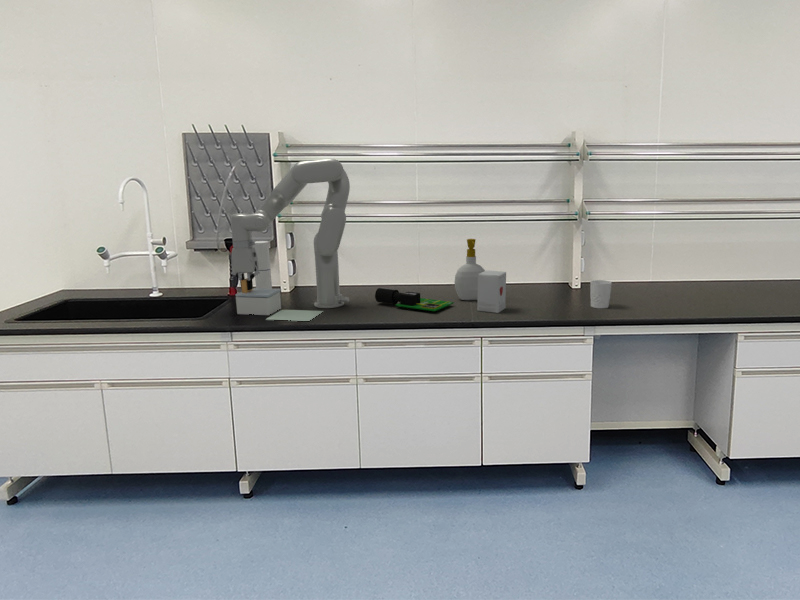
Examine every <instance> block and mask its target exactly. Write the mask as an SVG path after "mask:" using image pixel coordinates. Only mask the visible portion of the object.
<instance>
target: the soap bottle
mask: <svg viewBox="0 0 800 600" xmlns="http://www.w3.org/2000/svg"><path fill="white" fill-rule="evenodd" d="M476 240H477V239H476V238H467V239H466V242H467V249H466V256H465V257H466V259H465V263H464V264H463V265H461V266H460V267H459V268H458V269H457V271H456V273H455V275H454V289H455V292H456V293H457V296H458V298H459V299H460V300H462V301H478V274H480V273H481V272H484V271H486V270H485V268H484V267H483V266H481V265H480V264H477V256H476V249H475V245H476Z"/></svg>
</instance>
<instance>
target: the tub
mask: <svg viewBox="0 0 800 600" xmlns="http://www.w3.org/2000/svg"><path fill="white" fill-rule="evenodd" d="M281 303H282V301H281V291H280V292H278V293H276V294H274V295H272V296H270V297H267V298H262V297H240V296H235V304H236V305H235V306H236V313H237V315H249V314H252V315H253V314H254V315H255V316H256V315H257V316H271V315H273V314H275V313H277V312H278V311H280V310H282V304H281ZM279 309H280V310H279ZM277 310H278V311H277ZM270 314H271V315H270ZM254 315H253V316H254Z"/></svg>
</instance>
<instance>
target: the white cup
mask: <svg viewBox="0 0 800 600" xmlns="http://www.w3.org/2000/svg"><path fill="white" fill-rule="evenodd" d="M589 284H590V287H589V289H590V290H589V291H590V293H589V295H590V307H591V308H595V309H608V308H609V305H610V300H611V292H612V281H610V280H604V279H602V280H601V279H597V280H596V279H594V280H590V283H589Z"/></svg>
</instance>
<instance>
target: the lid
mask: <svg viewBox="0 0 800 600" xmlns="http://www.w3.org/2000/svg"><path fill="white" fill-rule="evenodd" d="M247 280H248V279H247V277H245V279H244V280H241V283H240V287H241V286H242V288H241V291H240V292H237V293H236V294H234V295H235V297H237V296H240V297H262V298H267V297H270V296H272V295H274V294H276V293H278V292H280V293H281V292H282V289H281V288H272V289H261V288H256V287H254V288H253V287H252V289H251V290H247Z"/></svg>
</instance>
